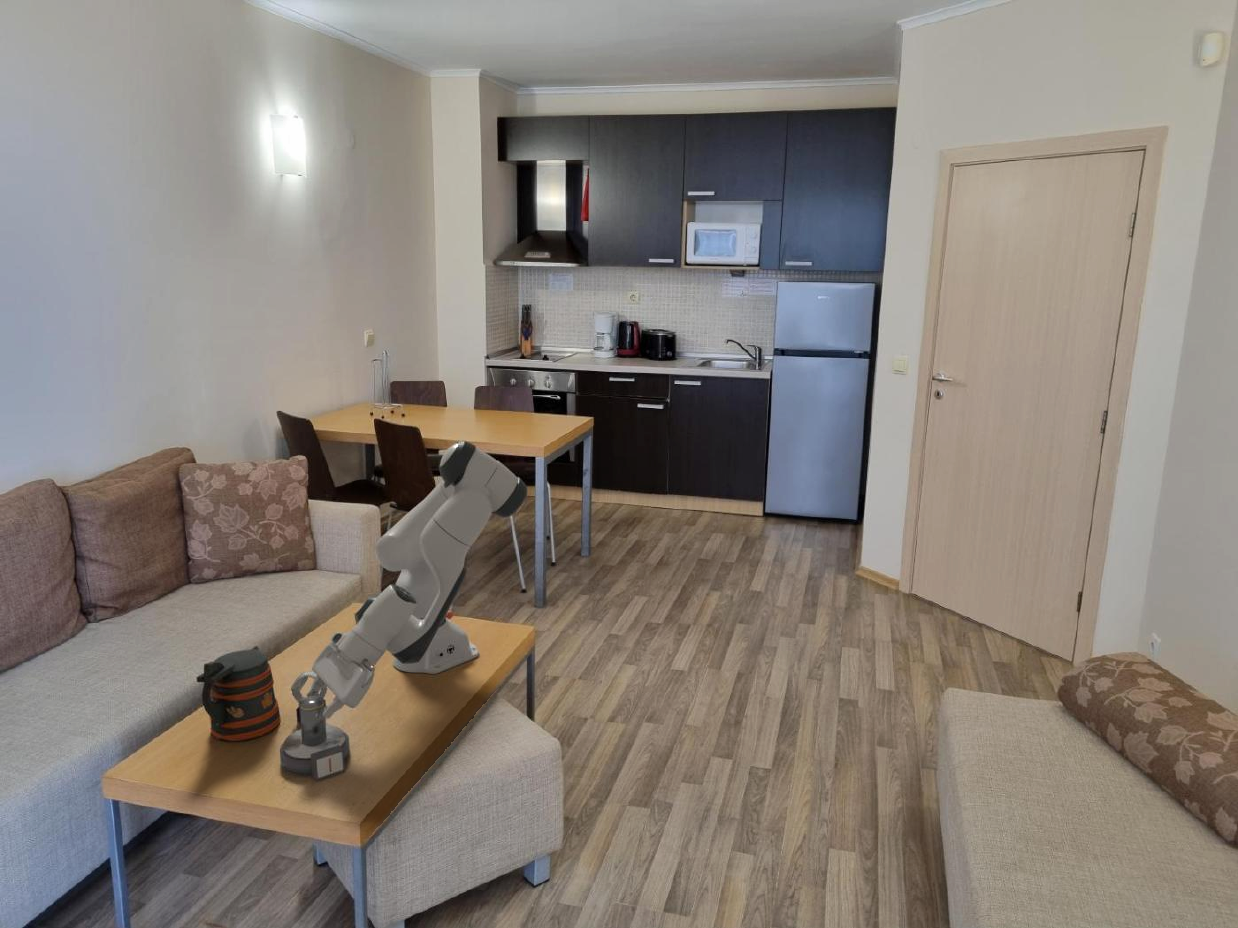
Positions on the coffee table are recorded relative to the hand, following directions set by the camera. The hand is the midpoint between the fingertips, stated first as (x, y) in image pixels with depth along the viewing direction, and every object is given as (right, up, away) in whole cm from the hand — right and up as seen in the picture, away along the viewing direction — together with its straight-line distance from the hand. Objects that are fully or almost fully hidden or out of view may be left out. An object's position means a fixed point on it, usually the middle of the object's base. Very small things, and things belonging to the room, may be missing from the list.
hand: (317, 706), depth 186 cm
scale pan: (-1, -8, +1) cm, 8 cm away
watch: (-8, -8, +19) cm, 22 cm away
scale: (0, -12, +1) cm, 11 cm away
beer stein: (-22, -9, +12) cm, 26 cm away
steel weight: (-1, -7, +1) cm, 8 cm away
